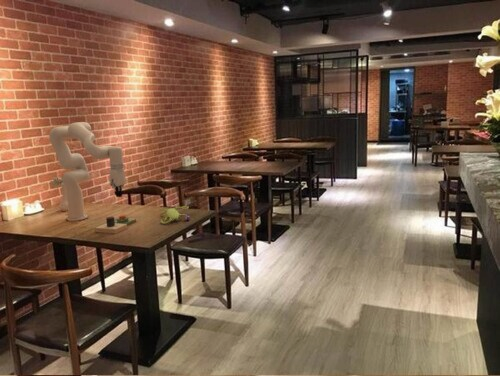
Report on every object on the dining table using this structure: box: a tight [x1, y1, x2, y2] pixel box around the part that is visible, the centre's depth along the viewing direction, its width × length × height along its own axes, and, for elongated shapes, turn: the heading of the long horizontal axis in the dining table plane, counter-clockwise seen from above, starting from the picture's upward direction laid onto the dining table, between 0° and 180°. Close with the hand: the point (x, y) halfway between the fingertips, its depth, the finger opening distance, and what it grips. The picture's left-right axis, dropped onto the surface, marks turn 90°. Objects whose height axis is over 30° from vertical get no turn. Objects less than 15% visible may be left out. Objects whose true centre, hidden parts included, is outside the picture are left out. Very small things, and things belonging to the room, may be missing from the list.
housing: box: [114, 216, 137, 227], centre depth 259 cm, size 12×10×4 cm
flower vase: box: [49, 175, 69, 212], centre depth 299 cm, size 13×18×25 cm
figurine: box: [160, 205, 191, 225], centre depth 267 cm, size 18×27×6 cm
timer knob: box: [105, 215, 115, 227], centre depth 245 cm, size 4×4×5 cm
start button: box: [118, 214, 127, 219], centre depth 259 cm, size 4×4×2 cm
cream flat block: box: [94, 222, 128, 234], centre depth 246 cm, size 14×11×3 cm
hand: (119, 196), depth 259 cm, fingers closed
